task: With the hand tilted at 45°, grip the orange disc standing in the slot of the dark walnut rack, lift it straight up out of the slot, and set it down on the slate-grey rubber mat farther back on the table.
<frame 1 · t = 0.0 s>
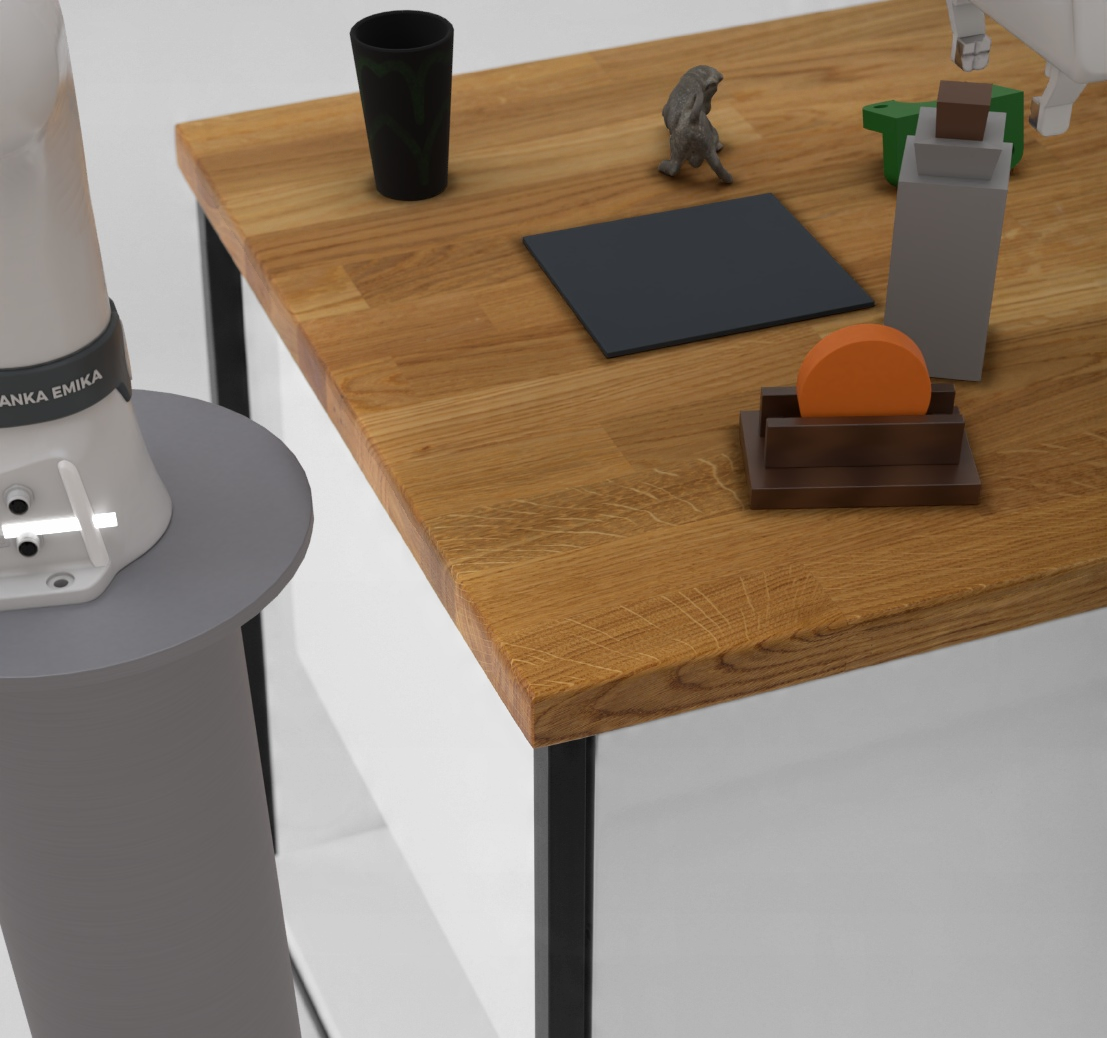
hand: (1007, 97, 119), 21 cm above the table, tool pointing down, fingers open, 8 cm apart
mat: (693, 273, 148), on the table
cup: (411, 186, 160), on the table
clamp: (936, 170, 160), on the table
rack: (855, 466, 130), on the table
perfume bottle: (932, 354, 140), on the table
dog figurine: (694, 162, 162), on the table
disc: (863, 389, 126), point 5 cm above the table, touching rack
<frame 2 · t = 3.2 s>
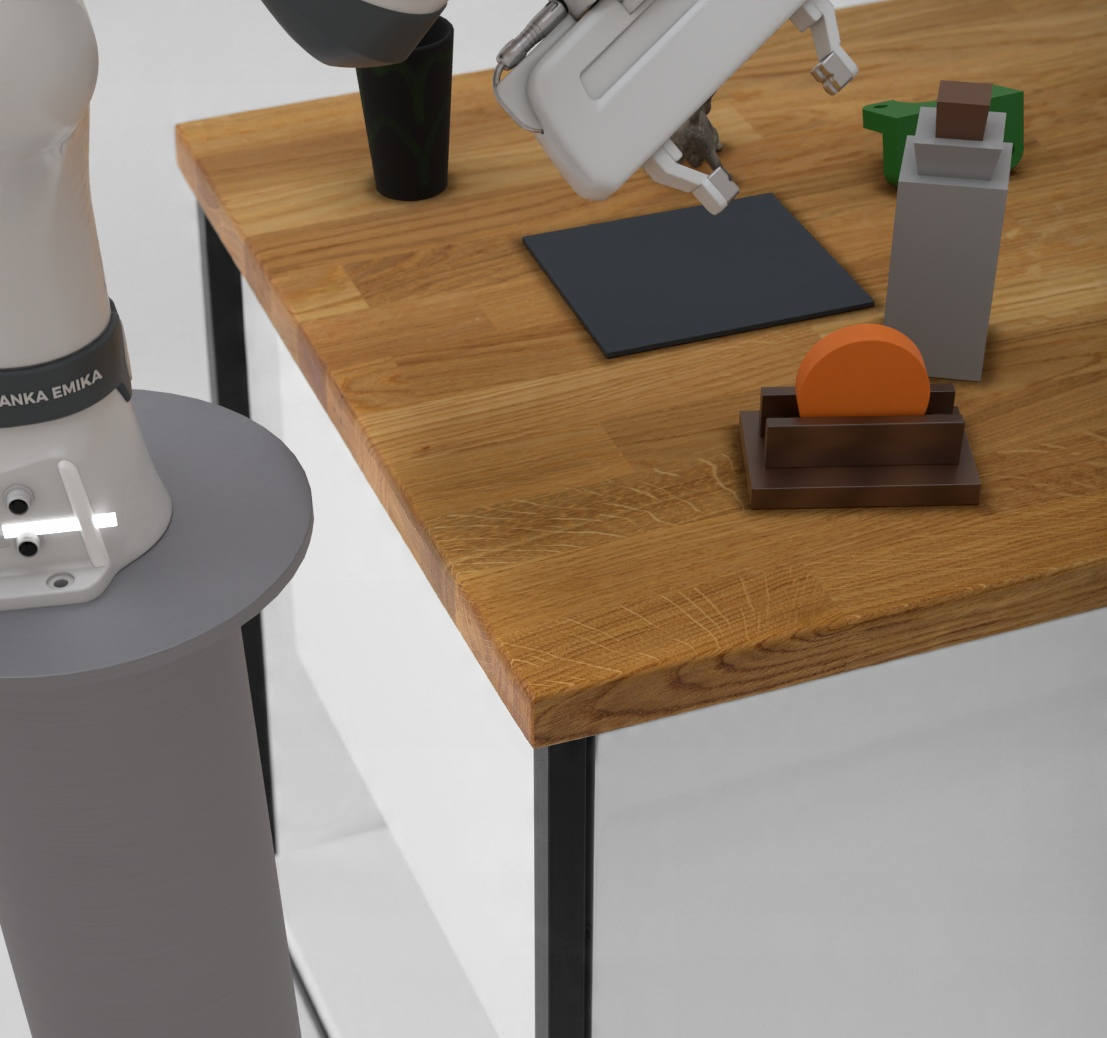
hand: (787, 144, 110), 23 cm above the table, tool tilted 50°, fingers open, 8 cm apart
nothing on the table moved.
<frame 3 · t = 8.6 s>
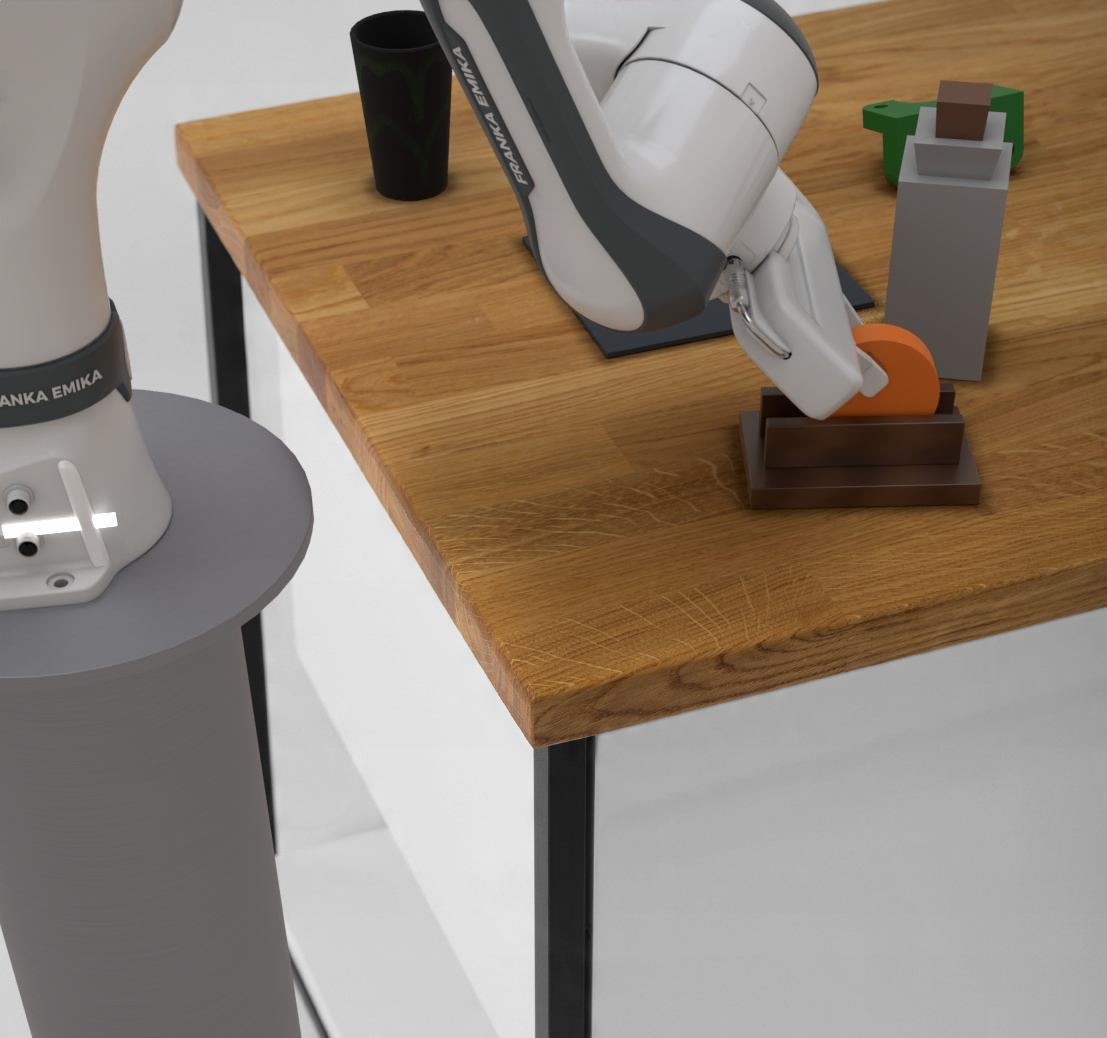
hand: (875, 369, 125), 7 cm above the table, tool tilted 45°, fingers closed on disc, 2 cm apart
disc: (871, 389, 126), point 6 cm above the table, tilted 8°, touching gripper, rack
everything else where it was.
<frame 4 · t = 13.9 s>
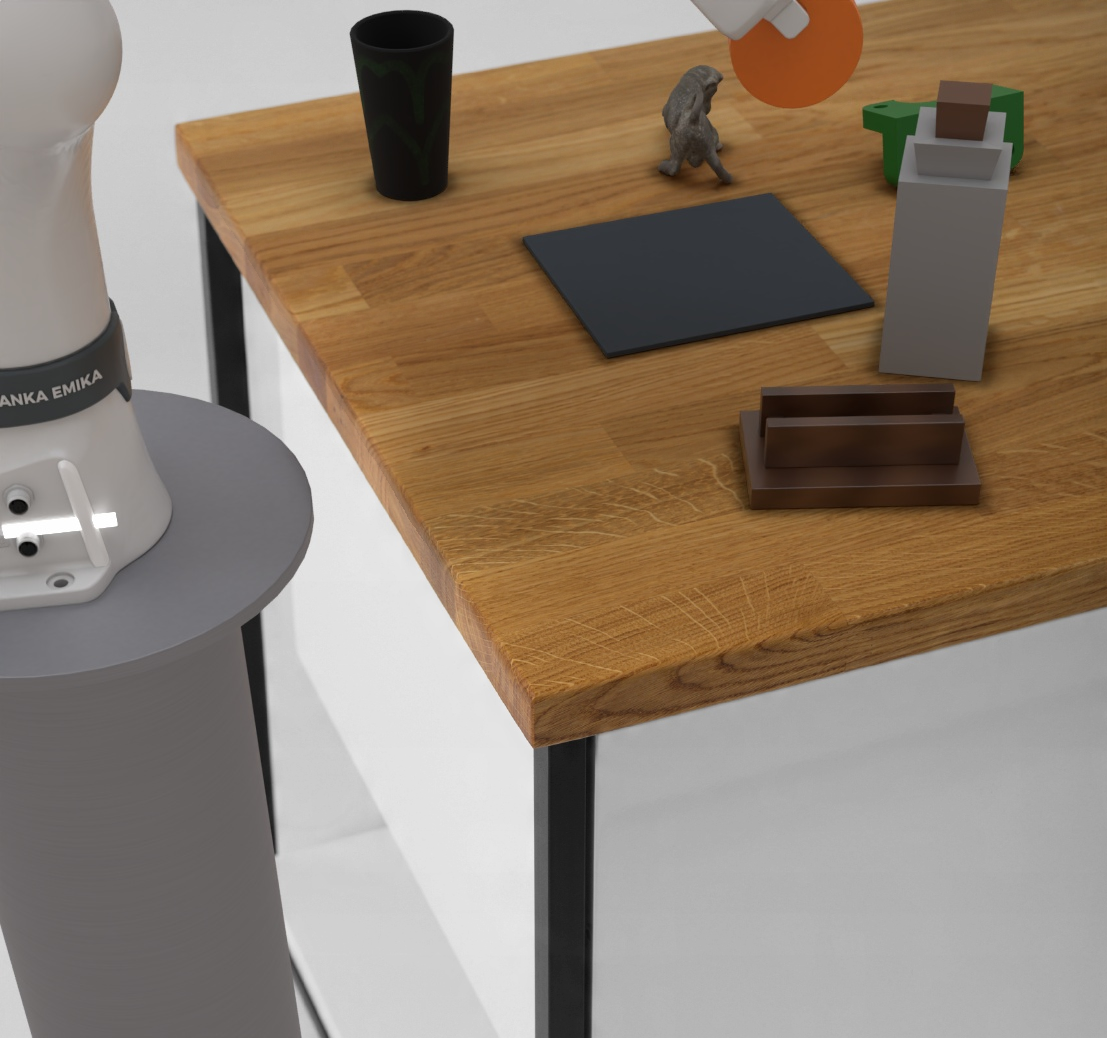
hand: (797, 15, 124), 23 cm above the table, tool tilted 45°, fingers closed on disc
disc: (795, 37, 124), point 22 cm above the table, tilted 8°, touching gripper
everything else where it was.
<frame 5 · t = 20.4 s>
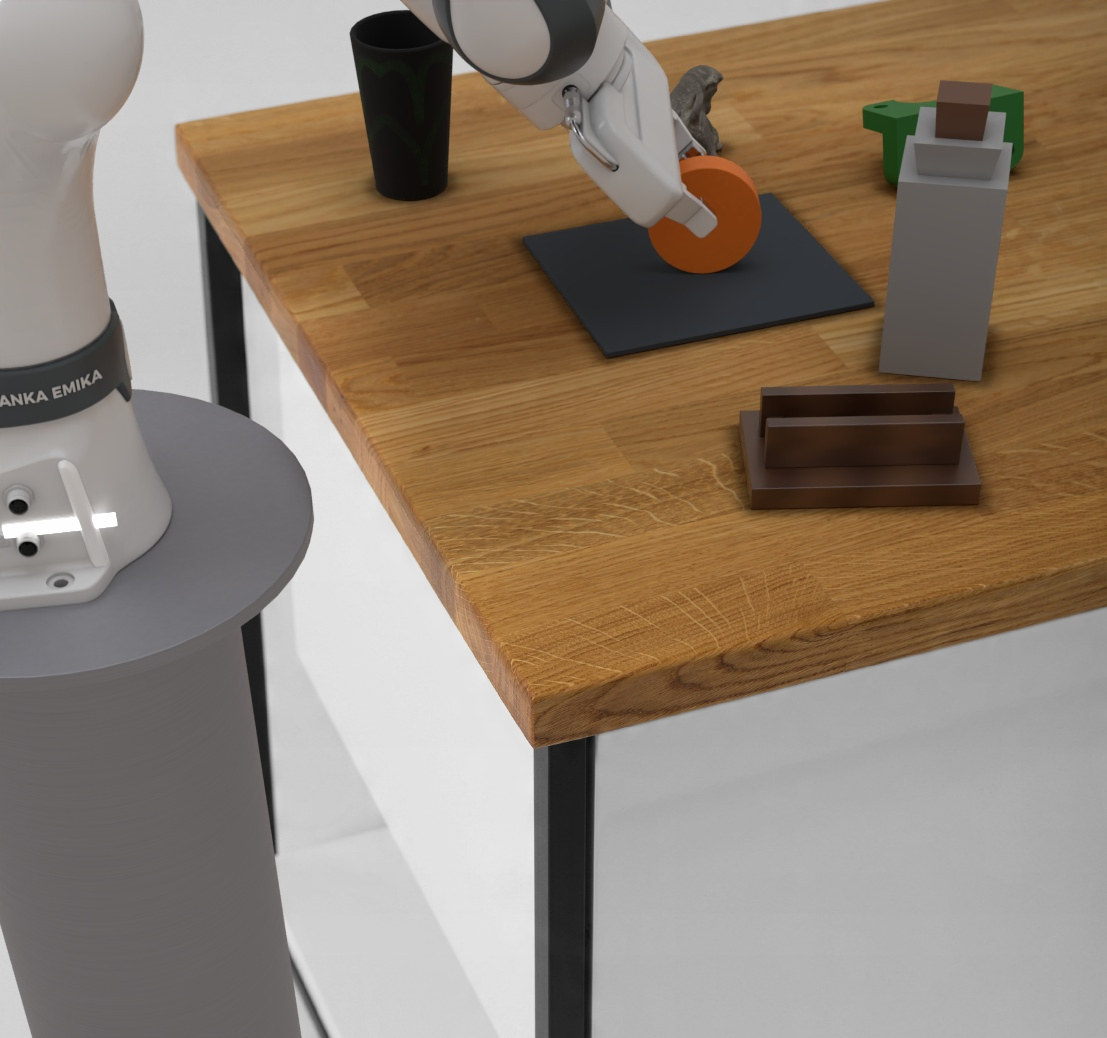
hand: (705, 196, 144), 6 cm above the table, tool tilted 45°, fingers open, 8 cm apart
disc: (703, 215, 145), point 4 cm above the table, tilted 7°, touching mat
everything else where it was.
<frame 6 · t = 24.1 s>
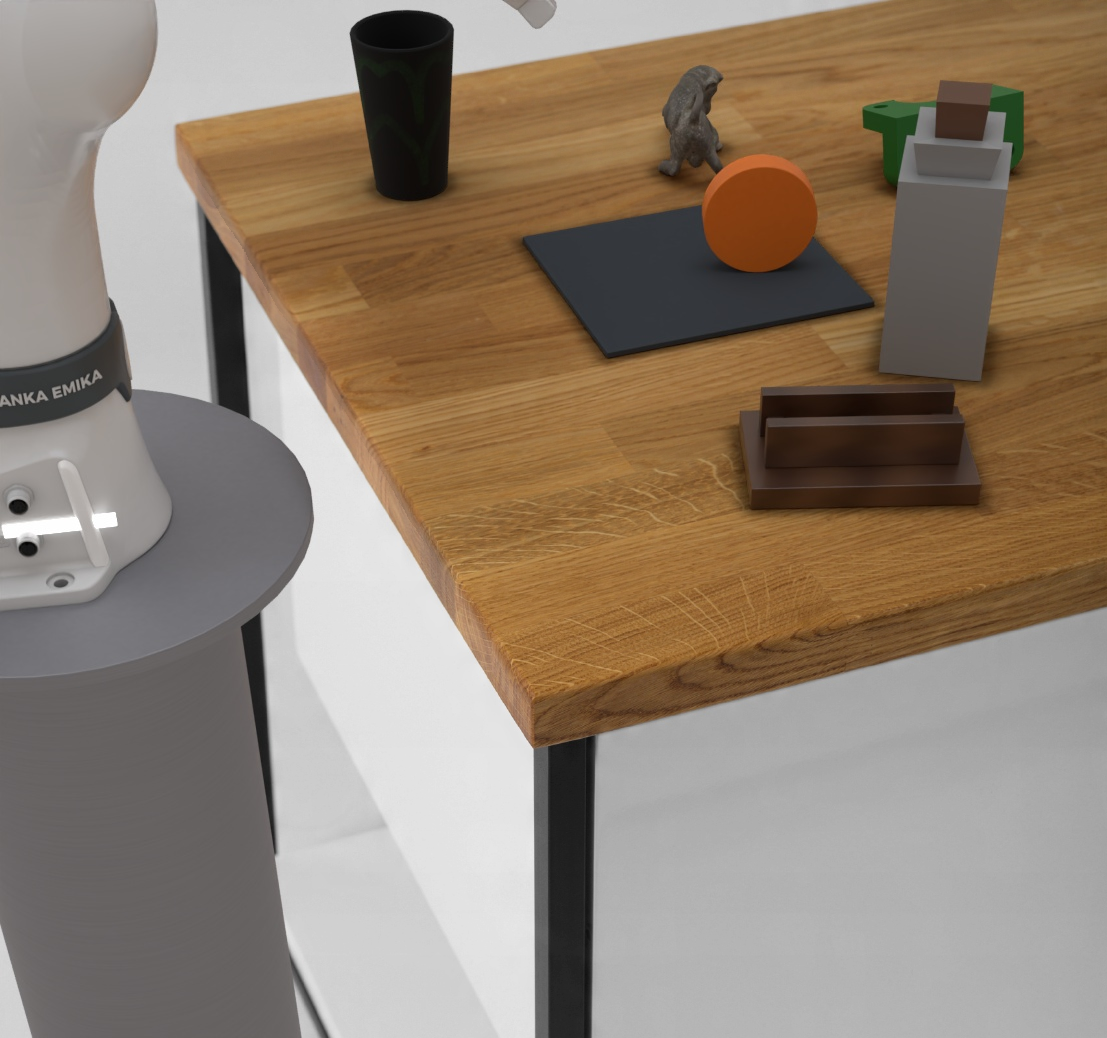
disc: (759, 214, 145), point 4 cm above the table, tilted 63°, touching mat
everything else where it was.
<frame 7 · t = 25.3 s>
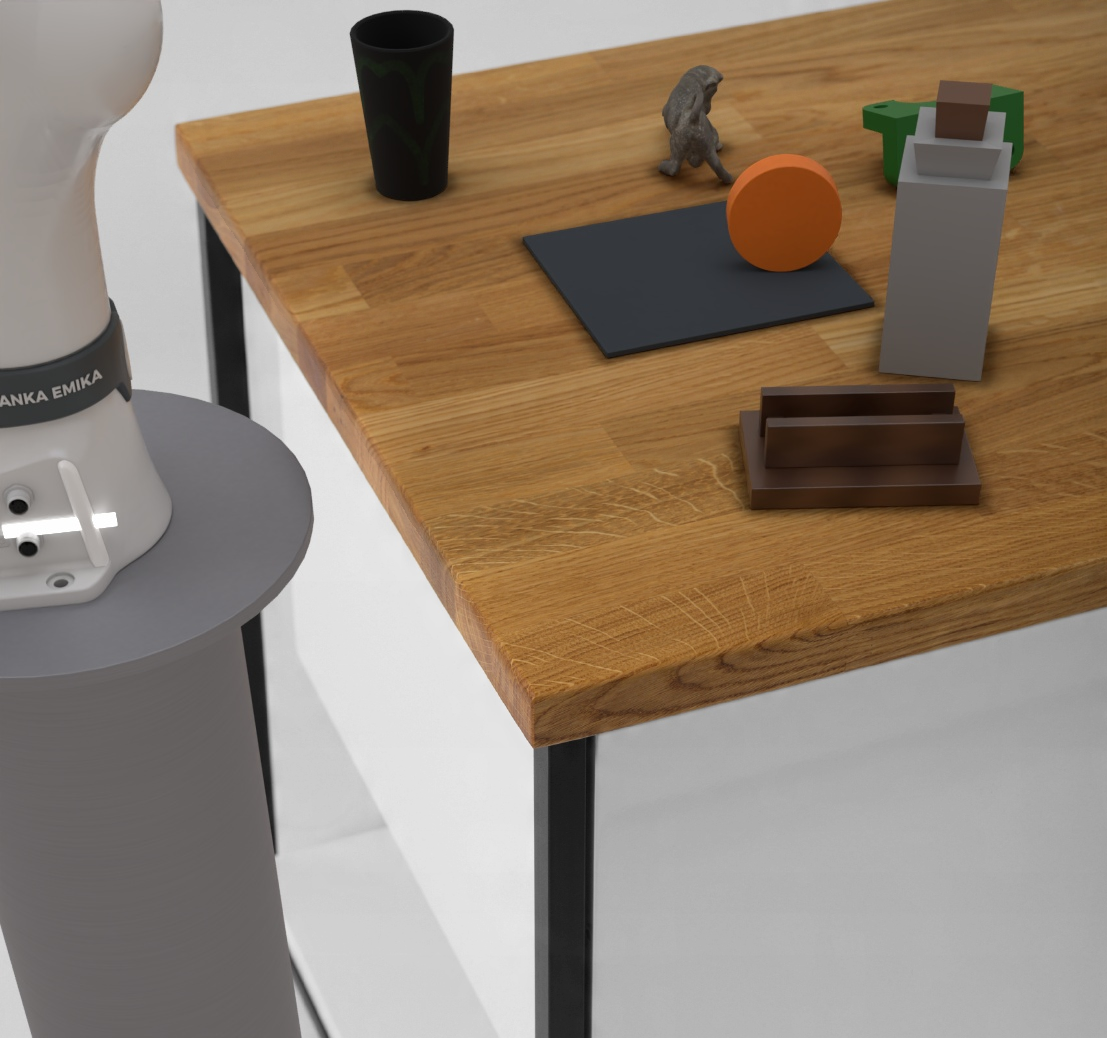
disc: (783, 213, 145), point 4 cm above the table, tilted 88°, touching mat
everything else where it was.
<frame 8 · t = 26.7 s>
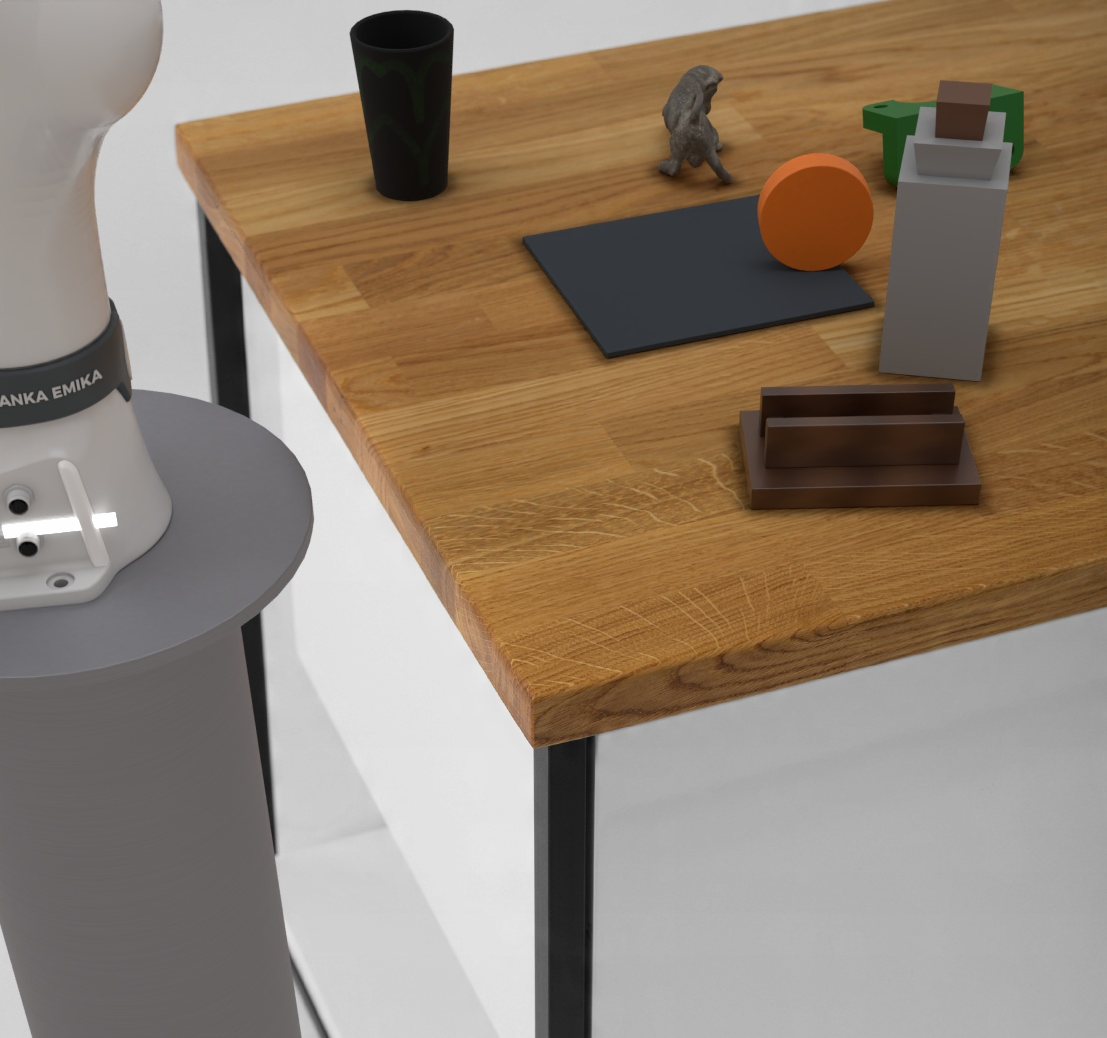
disc: (815, 213, 146), point 4 cm above the table, tilted 119°, touching mat
everything else where it was.
at the end: disc inside the target area on the mat (8.4 cm from its centre), point 4.4 cm above the mat's base; disc touching mat; the gripper is holding nothing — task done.
